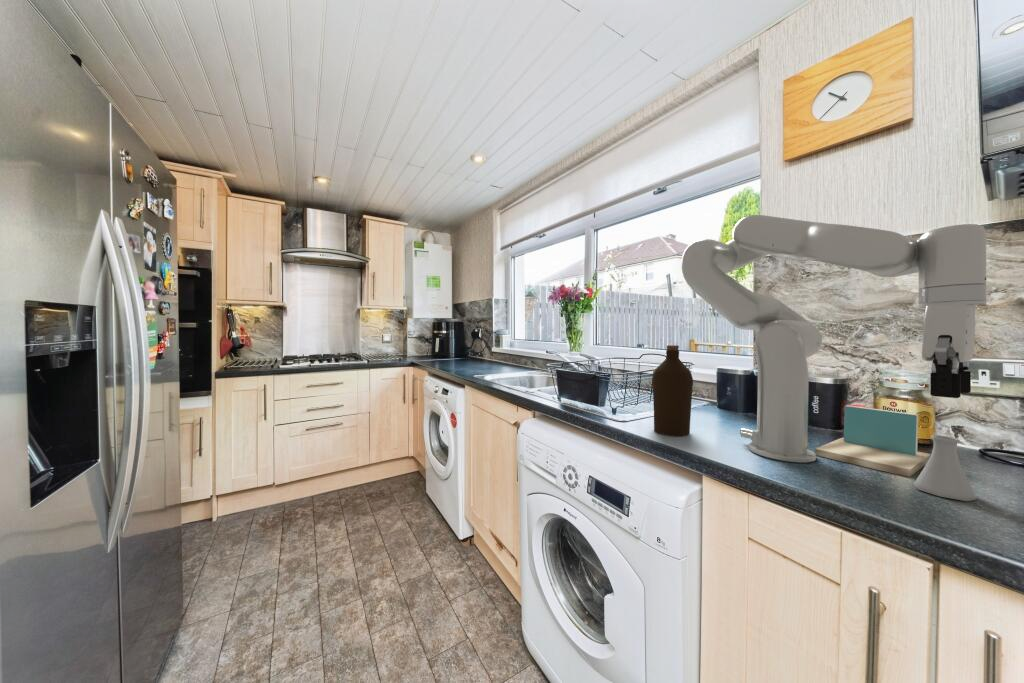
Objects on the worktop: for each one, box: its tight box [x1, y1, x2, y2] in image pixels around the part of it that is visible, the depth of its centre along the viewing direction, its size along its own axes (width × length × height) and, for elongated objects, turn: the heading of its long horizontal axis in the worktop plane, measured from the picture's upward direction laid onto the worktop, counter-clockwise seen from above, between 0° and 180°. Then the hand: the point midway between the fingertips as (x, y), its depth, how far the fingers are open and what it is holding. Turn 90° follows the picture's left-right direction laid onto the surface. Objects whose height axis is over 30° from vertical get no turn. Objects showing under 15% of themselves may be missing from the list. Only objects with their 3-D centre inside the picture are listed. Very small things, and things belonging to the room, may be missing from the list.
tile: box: [843, 405, 919, 456], centre depth 84 cm, size 12×2×9 cm, turn 32°
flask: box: [913, 434, 978, 502], centre depth 63 cm, size 7×7×10 cm
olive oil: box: [651, 344, 694, 437], centre depth 102 cm, size 11×11×25 cm
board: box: [814, 436, 932, 478], centre depth 81 cm, size 15×18×2 cm
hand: (950, 394), depth 63 cm, fingers open, 9 cm apart
